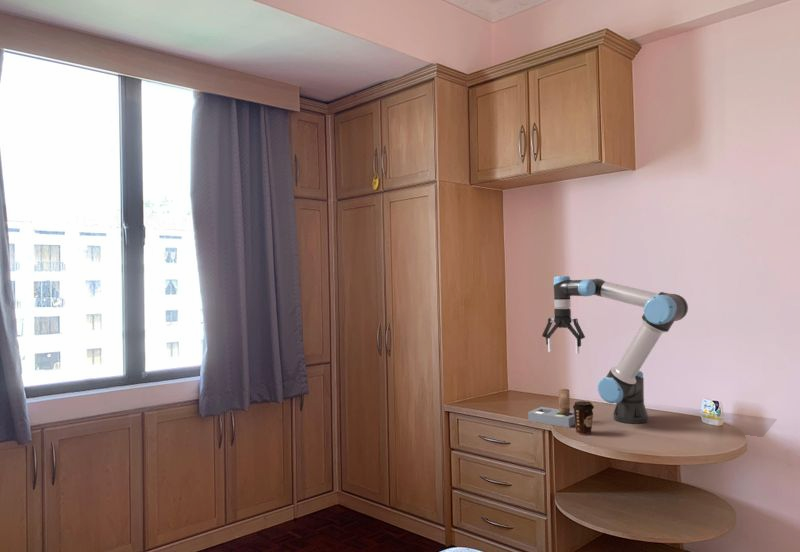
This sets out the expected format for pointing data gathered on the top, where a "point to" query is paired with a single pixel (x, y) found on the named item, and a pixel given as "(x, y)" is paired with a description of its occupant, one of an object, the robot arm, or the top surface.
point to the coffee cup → (583, 417)
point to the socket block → (551, 417)
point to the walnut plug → (564, 402)
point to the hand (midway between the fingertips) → (563, 352)
